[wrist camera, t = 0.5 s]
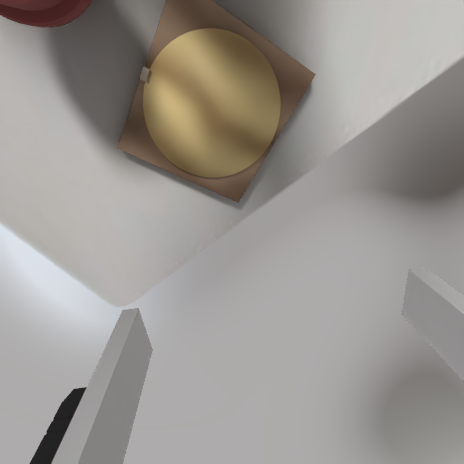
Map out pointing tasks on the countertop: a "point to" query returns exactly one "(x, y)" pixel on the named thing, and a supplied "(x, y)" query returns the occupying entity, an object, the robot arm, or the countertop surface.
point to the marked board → (211, 98)
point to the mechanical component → (43, 11)
